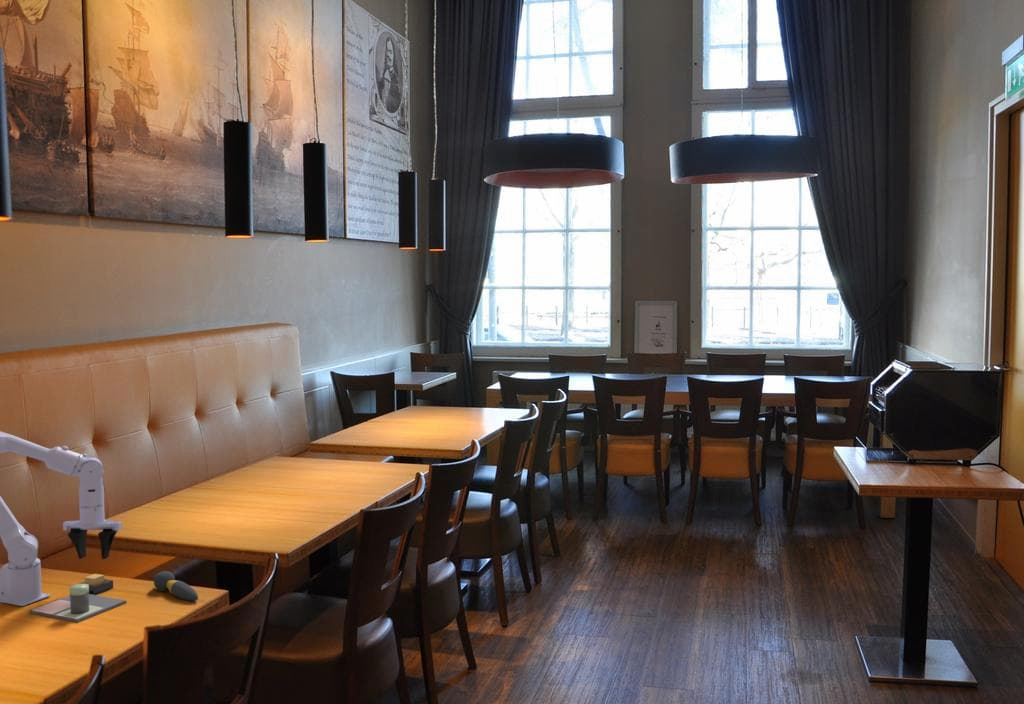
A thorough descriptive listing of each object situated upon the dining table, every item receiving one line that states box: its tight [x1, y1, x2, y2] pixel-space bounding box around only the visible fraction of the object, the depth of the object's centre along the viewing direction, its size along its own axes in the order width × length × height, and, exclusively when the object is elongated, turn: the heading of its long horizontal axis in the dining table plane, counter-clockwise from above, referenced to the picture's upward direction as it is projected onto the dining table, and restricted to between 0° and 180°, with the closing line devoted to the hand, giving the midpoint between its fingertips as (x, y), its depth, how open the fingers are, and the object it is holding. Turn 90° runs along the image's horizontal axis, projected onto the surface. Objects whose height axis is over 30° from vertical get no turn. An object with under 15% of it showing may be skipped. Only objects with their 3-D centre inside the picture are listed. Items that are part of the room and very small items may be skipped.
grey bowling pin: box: [153, 570, 199, 602], centre depth 225 cm, size 20×5×5 cm, turn 55°
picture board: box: [28, 594, 127, 623], centre depth 215 cm, size 16×14×1 cm
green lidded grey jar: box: [68, 583, 89, 614], centre depth 210 cm, size 4×4×6 cm
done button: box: [84, 573, 105, 586], centre depth 228 cm, size 3×3×2 cm
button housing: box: [78, 578, 114, 595], centre depth 228 cm, size 6×6×2 cm
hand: (93, 557), depth 227 cm, fingers open, 5 cm apart
